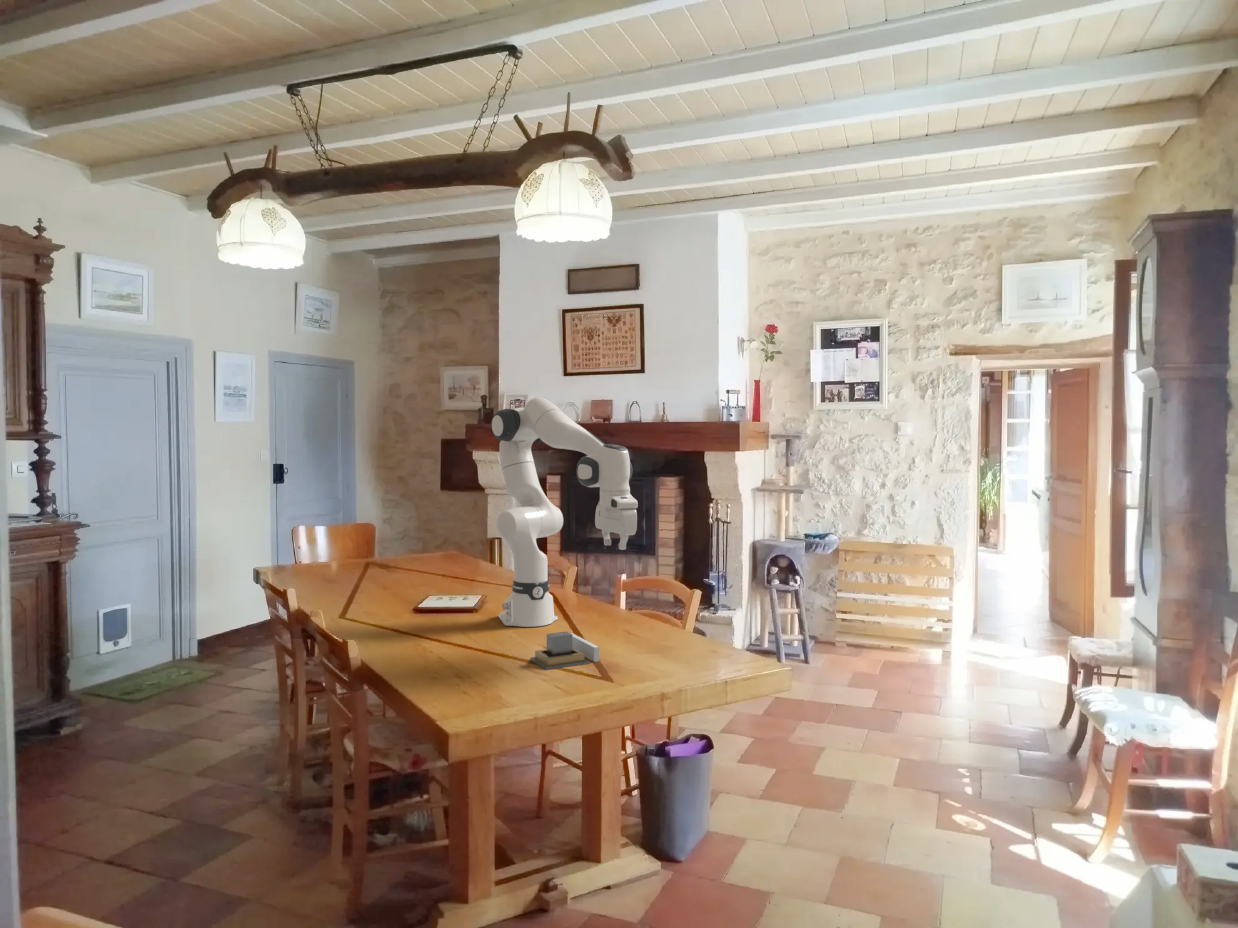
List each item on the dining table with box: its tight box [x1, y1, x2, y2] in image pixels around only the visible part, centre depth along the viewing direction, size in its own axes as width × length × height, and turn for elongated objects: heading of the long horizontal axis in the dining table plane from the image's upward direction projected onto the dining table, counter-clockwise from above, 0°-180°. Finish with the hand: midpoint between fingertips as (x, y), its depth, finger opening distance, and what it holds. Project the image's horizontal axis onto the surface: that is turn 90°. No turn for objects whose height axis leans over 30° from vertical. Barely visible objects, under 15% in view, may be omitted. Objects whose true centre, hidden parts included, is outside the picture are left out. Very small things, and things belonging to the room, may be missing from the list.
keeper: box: [529, 647, 590, 671], centre depth 231 cm, size 11×13×3 cm
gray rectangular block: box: [546, 630, 573, 657], centre depth 231 cm, size 4×6×7 cm, turn 118°
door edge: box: [569, 632, 600, 663], centre depth 239 cm, size 18×2×4 cm, turn 28°
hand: (614, 547), depth 244 cm, fingers open, 8 cm apart
